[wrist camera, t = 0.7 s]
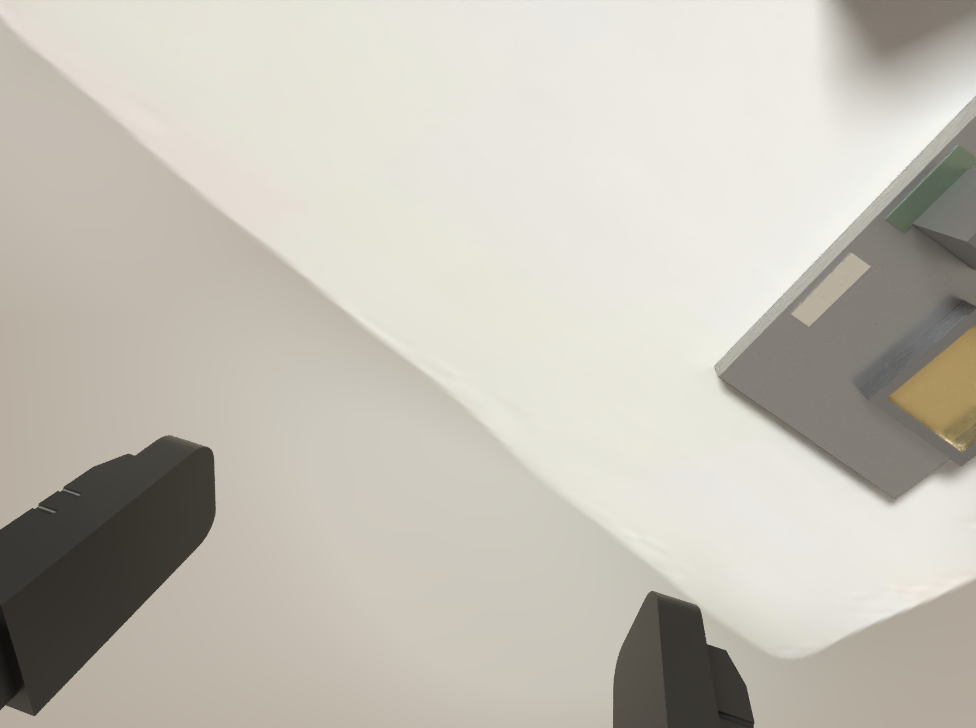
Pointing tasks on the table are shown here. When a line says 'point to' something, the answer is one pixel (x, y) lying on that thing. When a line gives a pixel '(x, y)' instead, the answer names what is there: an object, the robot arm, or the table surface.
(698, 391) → the table surface
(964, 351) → the panel
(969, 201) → the breaker slider
